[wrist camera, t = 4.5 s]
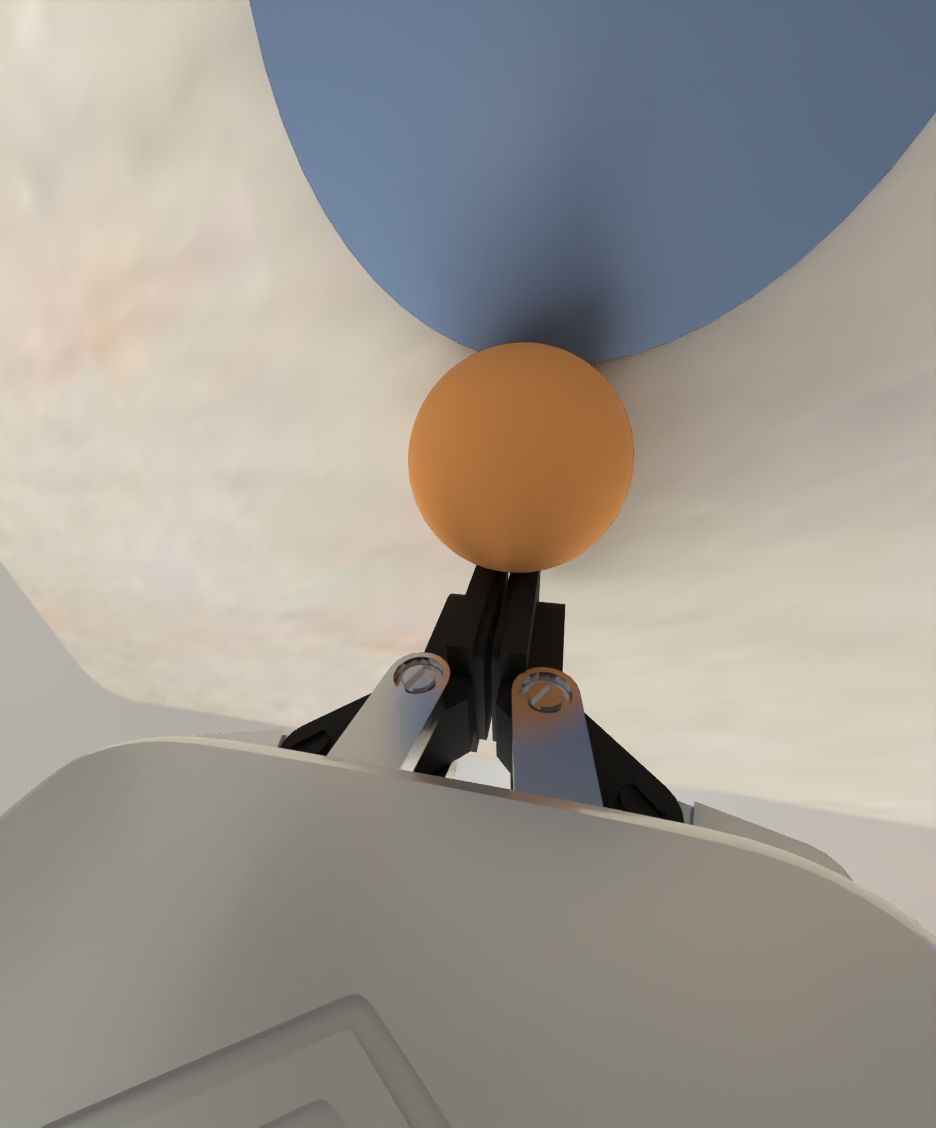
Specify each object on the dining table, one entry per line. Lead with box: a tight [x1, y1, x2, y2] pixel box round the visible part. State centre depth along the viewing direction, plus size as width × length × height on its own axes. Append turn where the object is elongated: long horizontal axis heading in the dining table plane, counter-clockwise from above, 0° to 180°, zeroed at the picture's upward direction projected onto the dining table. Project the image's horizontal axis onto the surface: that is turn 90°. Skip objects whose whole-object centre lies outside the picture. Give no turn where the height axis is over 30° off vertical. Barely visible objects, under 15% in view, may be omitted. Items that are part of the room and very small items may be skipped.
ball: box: [408, 342, 634, 573], centre depth 10 cm, size 5×5×5 cm
